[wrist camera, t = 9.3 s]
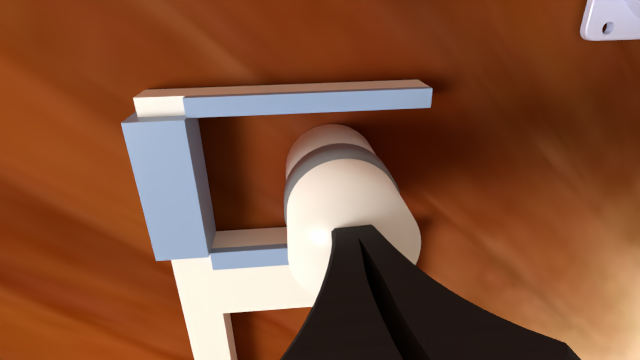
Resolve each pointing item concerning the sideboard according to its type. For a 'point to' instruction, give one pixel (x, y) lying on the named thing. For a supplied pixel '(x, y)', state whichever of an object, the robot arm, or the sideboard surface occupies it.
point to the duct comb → (196, 206)
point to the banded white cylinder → (339, 200)
